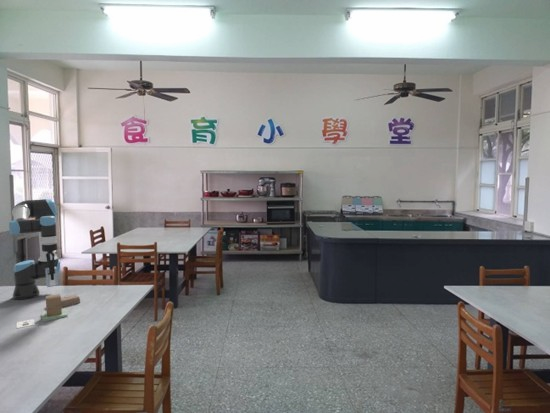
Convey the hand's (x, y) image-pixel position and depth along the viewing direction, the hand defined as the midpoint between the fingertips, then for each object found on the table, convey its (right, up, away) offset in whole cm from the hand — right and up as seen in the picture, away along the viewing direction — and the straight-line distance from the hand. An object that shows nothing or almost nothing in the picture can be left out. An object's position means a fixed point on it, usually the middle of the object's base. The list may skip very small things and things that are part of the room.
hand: (52, 284), depth 220 cm
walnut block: (0, -17, +2) cm, 17 cm away
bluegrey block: (0, -1, 0) cm, 1 cm away
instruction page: (-9, -20, -9) cm, 24 cm away
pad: (0, -18, +2) cm, 19 cm away
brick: (-5, -17, +21) cm, 28 cm away
